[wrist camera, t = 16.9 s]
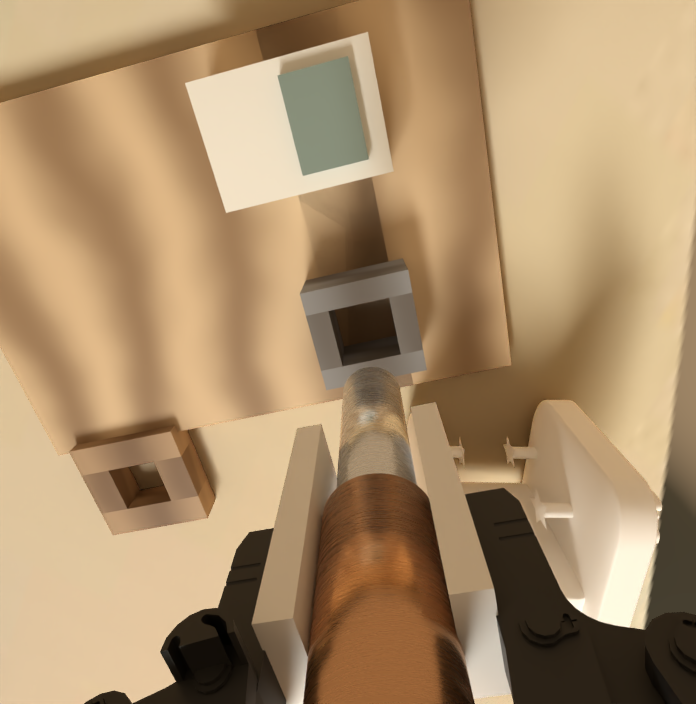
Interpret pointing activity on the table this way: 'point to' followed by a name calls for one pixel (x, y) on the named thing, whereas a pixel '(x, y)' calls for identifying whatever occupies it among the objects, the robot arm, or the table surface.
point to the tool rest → (154, 503)
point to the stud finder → (293, 123)
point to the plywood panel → (244, 240)
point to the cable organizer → (579, 509)
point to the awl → (381, 569)
